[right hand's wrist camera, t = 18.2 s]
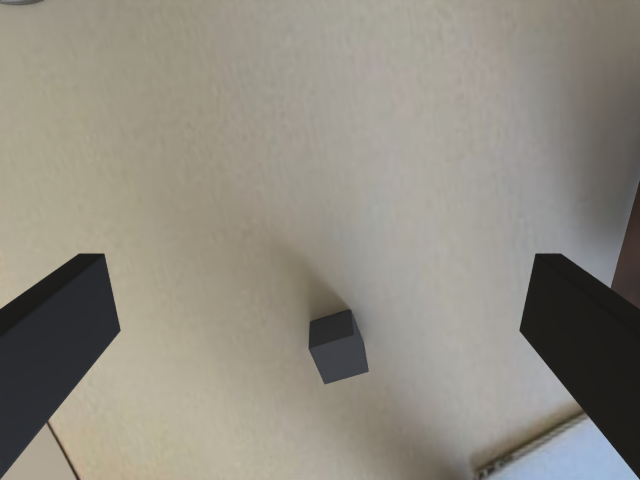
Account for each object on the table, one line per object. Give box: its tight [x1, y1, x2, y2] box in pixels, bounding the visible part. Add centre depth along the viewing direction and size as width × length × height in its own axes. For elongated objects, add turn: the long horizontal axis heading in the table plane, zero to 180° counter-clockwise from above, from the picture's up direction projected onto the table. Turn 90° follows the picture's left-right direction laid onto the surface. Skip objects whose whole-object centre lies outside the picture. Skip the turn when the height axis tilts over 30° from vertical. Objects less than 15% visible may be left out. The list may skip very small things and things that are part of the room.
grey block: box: [309, 309, 369, 384], centre depth 45 cm, size 5×5×5 cm
